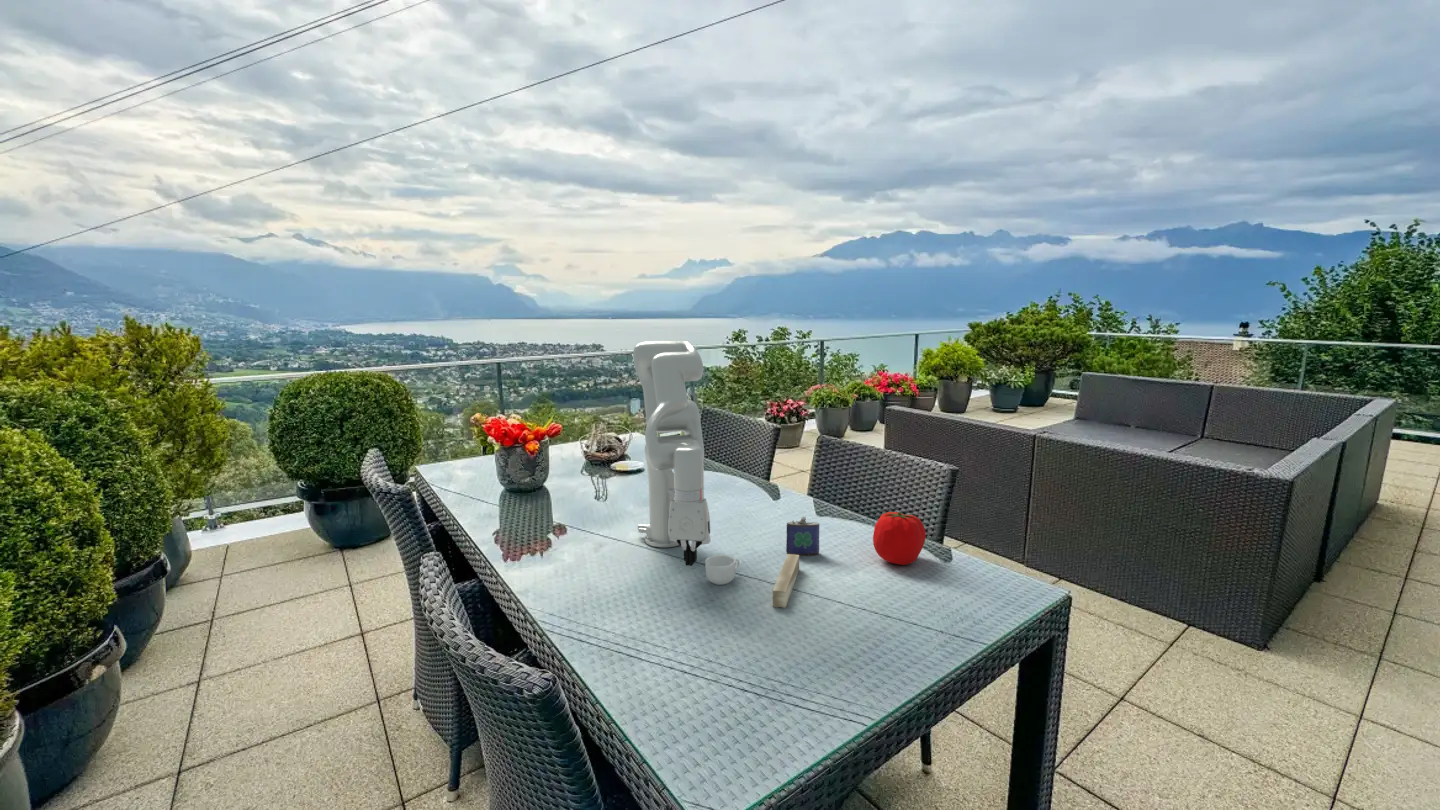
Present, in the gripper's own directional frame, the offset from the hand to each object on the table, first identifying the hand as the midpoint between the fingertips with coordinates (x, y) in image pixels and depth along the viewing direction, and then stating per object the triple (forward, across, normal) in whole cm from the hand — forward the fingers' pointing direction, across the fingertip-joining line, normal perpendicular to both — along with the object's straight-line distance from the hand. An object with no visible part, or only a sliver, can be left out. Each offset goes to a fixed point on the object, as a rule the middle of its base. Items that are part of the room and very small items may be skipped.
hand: (690, 563), depth 150 cm
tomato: (+4, +52, +24) cm, 57 cm away
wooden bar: (+4, +25, 0) cm, 25 cm away
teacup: (+4, +9, 0) cm, 10 cm away
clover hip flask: (+4, +26, +22) cm, 34 cm away
